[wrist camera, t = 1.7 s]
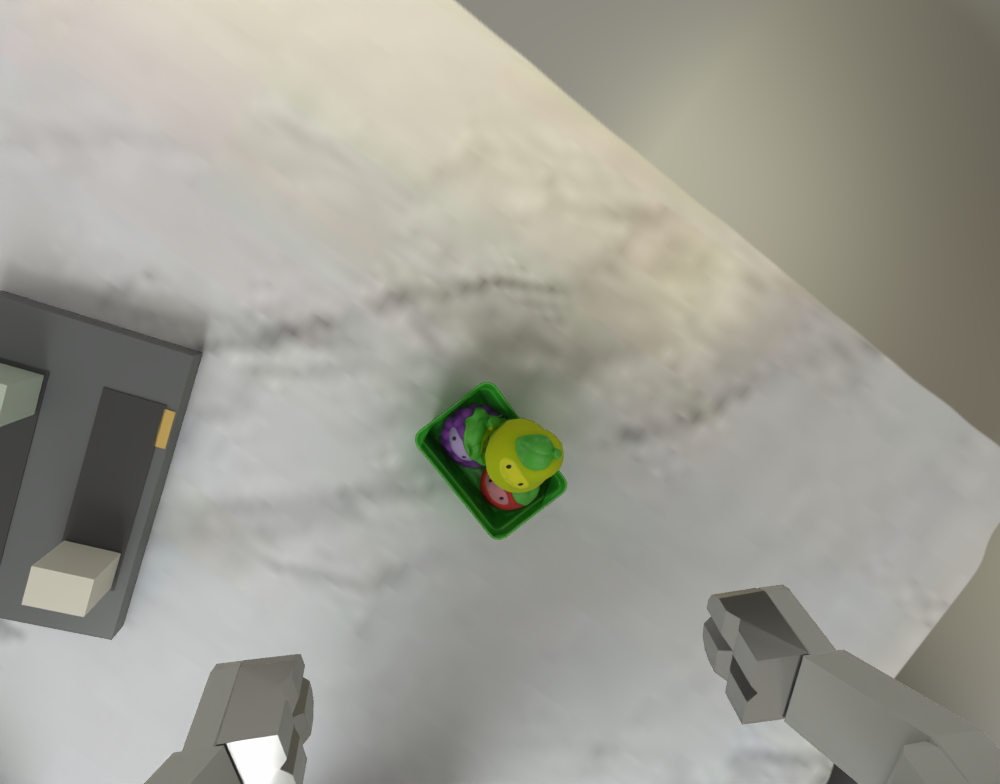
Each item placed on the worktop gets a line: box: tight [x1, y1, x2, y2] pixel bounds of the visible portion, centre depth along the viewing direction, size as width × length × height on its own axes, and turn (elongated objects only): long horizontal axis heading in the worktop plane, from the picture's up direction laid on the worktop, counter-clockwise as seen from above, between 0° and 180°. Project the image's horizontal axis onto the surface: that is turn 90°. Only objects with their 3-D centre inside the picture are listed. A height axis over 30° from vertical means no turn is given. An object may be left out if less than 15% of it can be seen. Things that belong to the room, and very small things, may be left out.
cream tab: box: [21, 540, 121, 617], centre depth 42 cm, size 3×4×4 cm
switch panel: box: [0, 291, 202, 640], centre depth 44 cm, size 24×14×2 cm, turn 160°
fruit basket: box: [415, 382, 567, 540], centre depth 45 cm, size 11×9×11 cm
